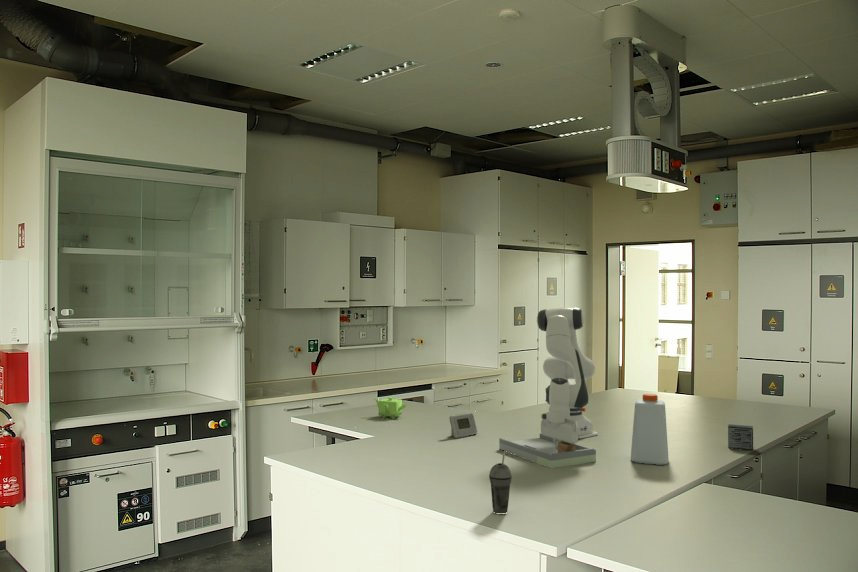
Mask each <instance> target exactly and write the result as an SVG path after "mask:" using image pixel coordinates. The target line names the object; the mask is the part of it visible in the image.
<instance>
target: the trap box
mask: <svg viewBox="0 0 858 572" xmlns="http://www.w3.org/2000/svg"><path fill="white" fill-rule="evenodd" d="M498 440H499V442H498V443H499V447H498V449H501V450H500V451H502V450H505V451H507V452H506V453H508V452H509V453H508V454H510V453H512V454H511V455H513V454H515V455H514V456H516V455H517V456H516V457H519V456H520V457H519V458H521V457H523V458H522V459H524V458H525V460H527V459H528V460H527V461H530V460H531V461H530V462H532V461H534V462H533V463H535V462H536V463H535V464H538V463H539V464H538V465H541V464H542V465H541V466H543V465H545V466H544V467H546V466H547V468H549V467H550V469H556V468H555V467H557V468H562V466H563V467H570V466H575V465H582V464H589V462H590V463H595V462H596V461H597V449H595V448H592V447H588V446H585V445H582V444H578V443H574V444H575V451H569V452H561V453H558V450H556V449H555V444H554V441H553V438H551V437H547V436H544V435H542V433H541V432H540V433H539V437H538V438H537V437H536V438H535V437H534V438H529V439H528V438H527V439H520V440H509V439H505V438H502V437H500V438H499V439H498ZM569 465H570V466H569Z"/></svg>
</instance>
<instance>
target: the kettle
mask: <svg viewBox="0 0 858 572" xmlns="http://www.w3.org/2000/svg"><path fill="white" fill-rule="evenodd" d="M373 400H375V402H376V406H377V408H378V416H380V417H381V419H386V418H387V417H390V418H391V419H393V420H395V419H396V418H399V416H401V415H402V414H403V410H404V409H405V408H406V407H407V406H408V405H407V404H406V403H403V399H398V398H397V396H396V397H392V396H388V398H382V399H380V400H379V399H378V398H373Z"/></svg>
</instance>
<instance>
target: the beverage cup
mask: <svg viewBox="0 0 858 572" xmlns="http://www.w3.org/2000/svg"><path fill="white" fill-rule="evenodd" d="M502 452H503V453H502V460H501V461H502V462H501V463H500V462H499V463H495V464H494V465H493V466H492V467H491V469H490V471H489V475H488V476H489V477H488V478H489V481H490V489H491V490H490V491H491V504H492V513H493V512H495V513H506V512H507V513H508V508H509V501H510V500H509V499H510V490H511V483H512V478H513V477H512V471H511V469H510V467H509V466H508V465H507V464H505V455H506V452H505V450H504V451H502Z"/></svg>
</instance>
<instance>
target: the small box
mask: <svg viewBox="0 0 858 572" xmlns="http://www.w3.org/2000/svg"><path fill="white" fill-rule="evenodd" d="M727 427H728V428H727V433H728V434H727V436H728V437H727V439H728V441H727V442H728V445H727V448H733V449H732V450H739V449H742V450H741V451H749V450H750V451H752V452H753V451H754V426H753V425H743V424H733V423H732V424H727Z"/></svg>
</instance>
